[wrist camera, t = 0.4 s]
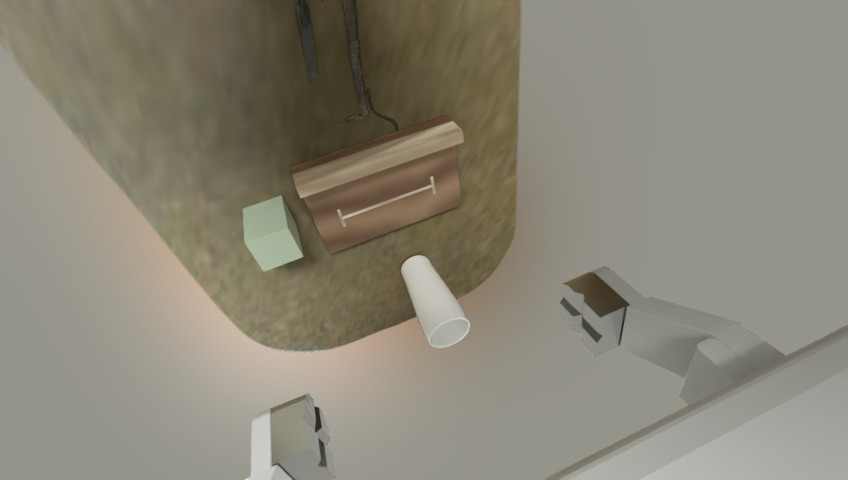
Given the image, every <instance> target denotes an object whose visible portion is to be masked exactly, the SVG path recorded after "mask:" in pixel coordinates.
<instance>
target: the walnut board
mask: <svg viewBox="0 0 848 480" xmlns="http://www.w3.org/2000/svg"><path fill="white" fill-rule="evenodd" d="M463 142H464V139H463V130H462V129H461V128H460V127H459V126H458V125H456V124H455V123H454V122H453V121H452V120H451V119H450V118H449V117H448V116H447V115H444V116H441V117H438V118H435V119H432V120H429V121H426V122H423V123H420V124H417V125H414V126H411V127H408V128H405V129H402V130H399V131H396V132H393V133H390V134H387V135H384V136H381V137H378V138H375V139H371V140H368V141H365V142H362V143H359V144H356V145H353V146H350V147H347V148H344V149H341V150H338V151H335V152H332V153H329V154H326V155H323V156H320V157H317V158H314V159H311V160H308V161H305V162H302V163H299V164H296V165H293V166H290V168H291V172H292V176H293V180H294V184H295V188H296V190H297V192H298V194H299V196H300V198H303V199H304V201H305V203H306V205H307V207H308V209H309V212H310V214H311V216H312V218H313V220H314V222H315V225H316V227H317V229H318V231H319V233H320V235H321V237H322V240H323V242H324V244H325V246H326V248H327V250H328V252H329V254H332V253H335V252H337V251H340V250H343V249H345V248H348V247H351V246H353V245H356V244H359V243H361V242H364V241H367V240H369V239H372V238H375V237H378V236H380V235H383V234H386V233H388V232H391V231H394V230H396V229H399V228H402V227H404V226H407V225H410V224H412V223H415V222H418V221H420V220H423V219H426V218H428V217H431V216H434V215H436V214H439V213H442V212H444V211H447V210H450V209H452V208H455V207H458V206H460V205H462V203H461V194H460V185H459V175H458V166H457V157H456V147H455V145H457V144H460V143H463Z"/></svg>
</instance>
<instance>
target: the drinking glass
mask: <svg viewBox="0 0 848 480" xmlns="http://www.w3.org/2000/svg"><path fill="white" fill-rule="evenodd" d="M401 274H402V277H403V279H404V281H405V284H406V286H407V289H408V292H409V295H410V298H411V301H412V304H413V307H414V310H415V312H416V315H417V318H418V321H419V323H420V325H421V328H422V330H423V332H424V334H425V336H426V338H427V340H428V342H429V344H430V345H431V346H433V347H436V348H444V347H448V346H451V345H453V344H455V343H457V342H458V341H460V340H461V339H462V338H463V337H464V336H465V335H466V334H467V333H468V331H469V328H470V322H469V320H468V318H467V316H466V314H465V312H464V311H463V309H462V307H461V306H460V304H459V302H458V301H457V299H456V298H455V296H454V295H453V294H452V292H451V291H450V289H449V288H448V287H447V285H446V284H445V283H444V281H443V280H442V278H441V277H440V276H439V274H438V273H437V271H436V270H435V269H434V267H433V266H432V264H431V262H430V260H429V259H428V258H427V257H425V256H422V255H416V256H413V257H410V258H409V259H407V260H406V261H405V262H404V263H403V265H402V267H401Z"/></svg>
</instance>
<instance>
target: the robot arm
mask: <svg viewBox="0 0 848 480" xmlns="http://www.w3.org/2000/svg"><path fill="white" fill-rule="evenodd" d="M560 293H561V294H562V295H563V296H564V297H563V299H562V300H561V302H560V311H561V314H562V316H563V318H564V320H565V321H566V323H567V324H568V325H569V327H570V328H571V329H572V330H574V331H577V332H579V333H581V341H582V342H583V343H584V344H585V345H586V346H587V347H588V348H589V349H590V351H591V352H592V353H593V354H594V355H595V356H597V355H600V354H602V353H604V352H607V351H609V350H611V349H614V348H616V347H618V346H620V348H622V349H625V350H627V351H629V352H631V353H633V354H635V355H637V356H639V357H641V358H643V359H646V360H648V361H650V362H652V363H654V364H656V365H658V366H661V367H662V368H665V369H667V370H669V371H671V372H673V373H675V374H677V375H680V376H682V377H684V381H683V384H682V386H681V389H680V397H681V398H682V399H683V400H684V401H685V402H686V403H687V404H688V406H686V407H684V408H682V409H680V410H679V411H676V412H674V413H672V414H671V415H668V416H666V417H664V418H663V419H661V420H659V421H657V422H655V423H653V424H651V425H649V426H647V427H645V428H643V429H641V430H639V431H637V432H635V433H633V434H631V435H629V436H627V437H625V438H623V439H621V440H619V441H617V442H615V443H613V444H611V445H610V446H607V447H606V448H603V449H602V450H600V451H598V452H596V453H594V454H592V455H590V456H588V457H586V458H584V459H582V460H580V461H578V462H576V463H574V464H572V465H570V466H568V467H566V468H564V469H562V470H560V471H558V472H556V473H554V474H552V475H550V476H548V477H547V478H544V479H543V480H848V324H847V325H845V326H843V327H841V328H840V329H838V330H836V331H834V332H832V333H830V334H828V335H826V336H824V337H822V338H820V339H818V340H816V341H814V342H812V343H810V344H808V345H806V346H804V347H802V348H800V349H798V350H796V351H794V352H792V353H790V354H788V355H786V356H785V355H784V354H783V353H781V352H780V351H779V350H777V349H776V348H774V347H773V346H772V345H770V344H769V343H768V342H766V341H765V340H763V339H762V338H761V337H759V336H758V335H756V334H755V333H753V332H752V331H751V330H750V329H748V328H747V327H745V326H744V325H743V324H741V323H740V322H737V321H734V320H730V319H727V318H723V317H720V316H716V315H713V314H709V313H706V312H702V311H698V310H695V309H692V308H688V307H685V306H681V305H678V304H674V303H671V302H667V301H664V300H661V299H657V298H654V297H647V298H645V297H644V296H643V295H642V294H640V293H639V292H638V291H637V290H635V289H634V288H633V287H632V286H631V285H629V284H628V283H627V282H626V281H625V280H623V279H622V278H621V277H619V276H618V275H617V274H616V273H615V272H614V271H612V270H611V269H610V268H609V267H606V266H603V267H601V268H598V269H596V270H594V271H591V272H588V273H586V274H584V275H581V276H580V277H577V278H575V279H573V280H570V281H568V282H566V283H563V284H562V285H561V287H560ZM329 439H330V436H329V431H328V426H327V423H326V420H325V418H324V415H323V413H322V411H321V410H320V408H319V407H315V406H314V402H313V399H312V397H311V396H310V395H309V394H306V395H303V396H301V397H298V398H296V399H293V400H291V401H288V402H286V403H283V404H281V405H278V406H276V407H273V408H271V409H268V410H266V411H264V412H261V413H259V414H257V415H254V417H253V420H252V434H251V476H250V477H248V478H246V479H245V480H331V479H333V478H335V477H336V476H335V469H334V463H333V456H332V453H331V452H330V451H329V449H328V448H327V444H328V442H329Z"/></svg>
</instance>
